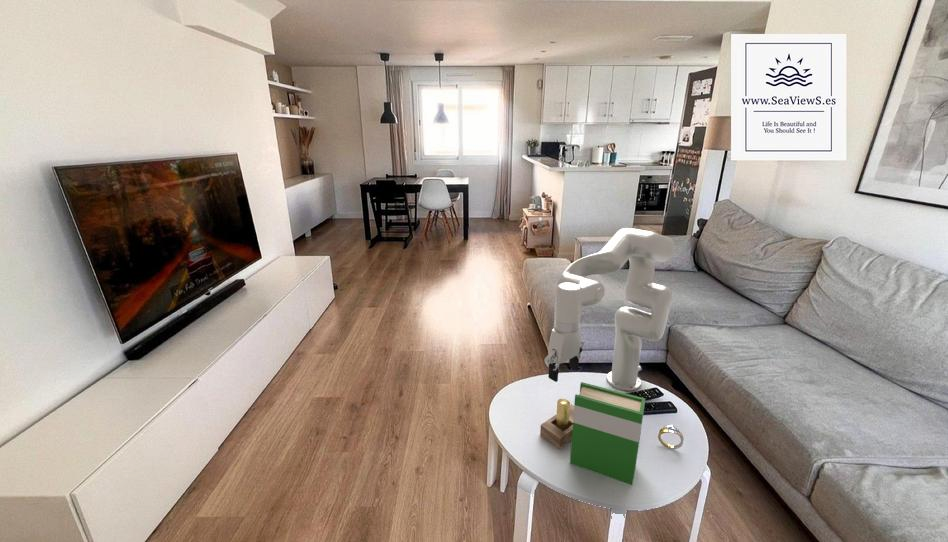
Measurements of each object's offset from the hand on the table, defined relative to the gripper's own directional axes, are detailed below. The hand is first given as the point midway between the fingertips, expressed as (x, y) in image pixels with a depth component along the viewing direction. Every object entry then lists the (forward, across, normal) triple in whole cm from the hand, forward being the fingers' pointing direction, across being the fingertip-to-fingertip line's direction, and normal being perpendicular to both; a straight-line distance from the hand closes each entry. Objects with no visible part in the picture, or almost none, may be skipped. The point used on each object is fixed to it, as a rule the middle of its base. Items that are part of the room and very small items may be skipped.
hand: (563, 373), depth 123 cm
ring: (+23, -22, +26) cm, 41 cm away
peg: (+23, -1, 0) cm, 23 cm away
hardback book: (+23, 0, +17) cm, 29 cm away
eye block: (+23, -3, 0) cm, 23 cm away
